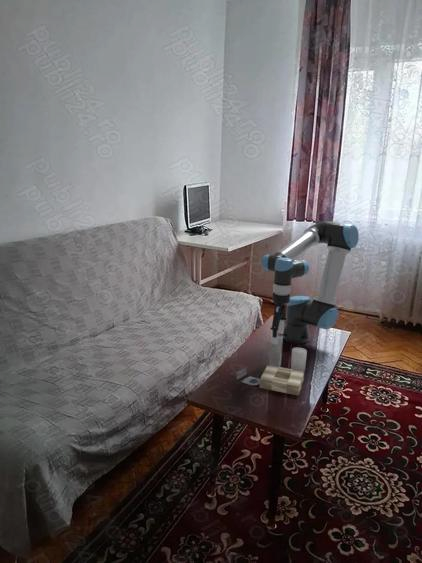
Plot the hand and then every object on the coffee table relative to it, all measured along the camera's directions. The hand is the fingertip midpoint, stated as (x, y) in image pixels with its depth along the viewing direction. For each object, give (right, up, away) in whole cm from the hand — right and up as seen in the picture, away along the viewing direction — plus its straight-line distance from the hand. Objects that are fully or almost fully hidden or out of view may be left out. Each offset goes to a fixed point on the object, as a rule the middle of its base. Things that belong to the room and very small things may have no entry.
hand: (277, 338), depth 188 cm
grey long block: (0, -13, +4) cm, 14 cm away
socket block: (0, -17, -13) cm, 22 cm away
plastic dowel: (+10, -14, +1) cm, 17 cm away
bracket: (-14, -17, -10) cm, 24 cm away
